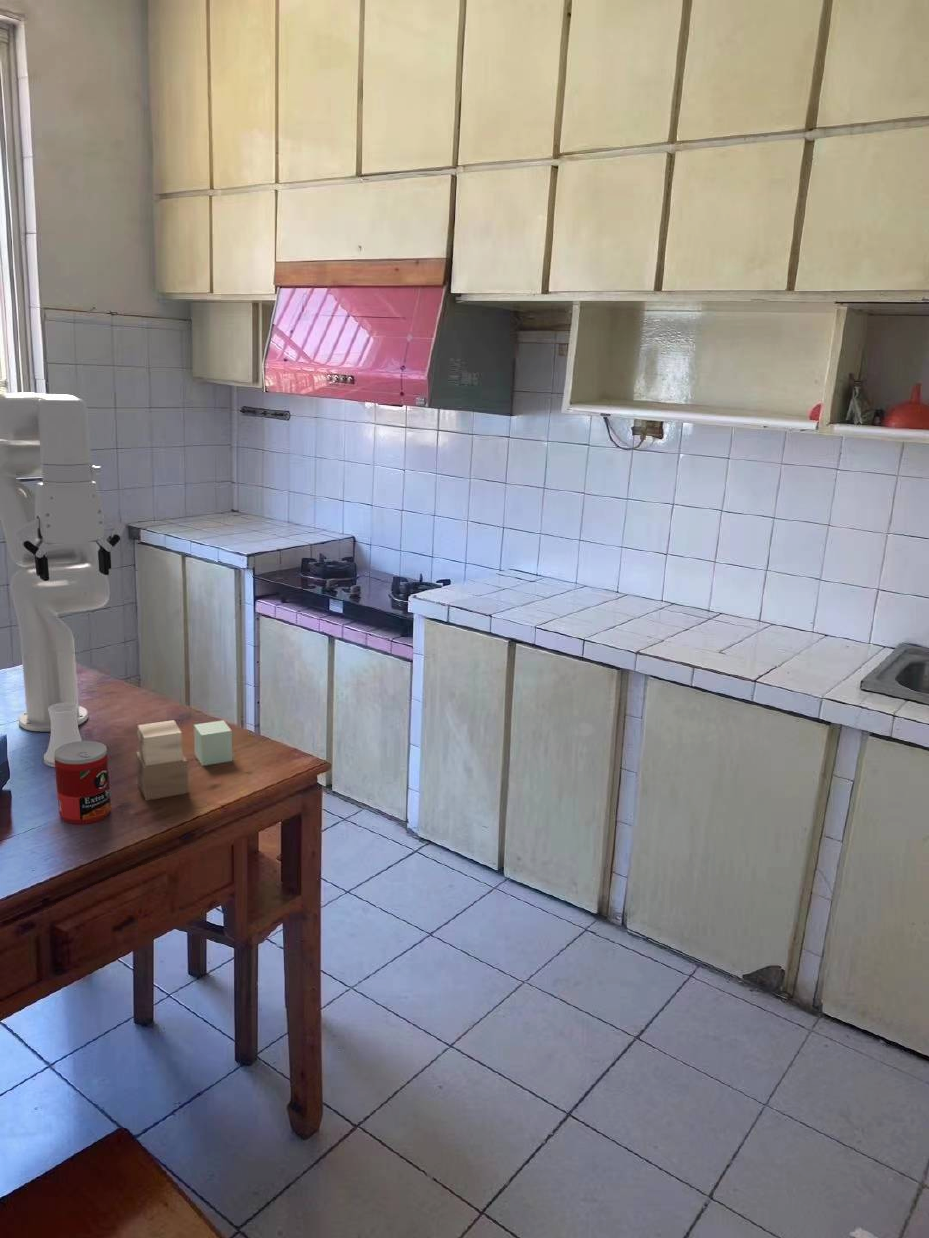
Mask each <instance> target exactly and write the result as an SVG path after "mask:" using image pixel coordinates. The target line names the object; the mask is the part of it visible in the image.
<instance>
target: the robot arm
mask: <svg viewBox="0 0 929 1238" xmlns="http://www.w3.org/2000/svg"><path fill="white" fill-rule="evenodd" d="M88 414H89V413H88V406H87V404H86V402H85V400H83V399H82V398H79V397H77V396H75V395H72V394H61V393H59V394H57V393H53V394H52V393H38V392H33V391H32V392H31V391H30V392H29V391H28V392H16V393H0V522H1V526H2V531H3V535H4V538H5V542H6V545H7V549H8V552H9V555H10V557H11V559H12V561H13V562H14V563H15V565H17V566H20V567H22V568H21V569H19V570H17V571H16V572H14V574H12V577H11V579H10V582H9V587H10V588H9V589H10V594H11V598H12V603H13V606H14V610H15V614H16V619H17V623H18V630H19V631H18V633H19V640H20V650H21V662H22V672H23V683H24V684H23V685H24V686H23V687H24V693H25V694H24V695H25V697H24V698H25V706H26V711H25V712H23V713H22V714H20V716H19V717H18V725H19V726H20V728H22V729H24V730H27V731H32V732H38V731H39V732H40V733H41V732H42V733H45V732H48V733H49V732H51V721H50V715H49V711H48V708H49V707H50V706H52V705H54V704H58V703H74V704H77V706H78V707H77V724H78V726H80V725H81V724H83V723H84V722H85V721H87V719H88V718H89V713H88V710H87V709H86V708H85V707H83V706H82V705H79V691H78V679H77V678H78V677H77V664H76V652H75V639H74V638H75V637H74V634H73V631H72V629H71V628H70V627H69V625H67V623H65V622H64V621H63V620H61V619H60V618H59V616H58V615H60V614H66V613H72V612H74V613H75V612H82V611H89V610H90V611H91V610H95V609H96V610H97V609H99V608H103V607H104V606H105V605H106V604H107V603H108V601H109V599H110V595H111V593H110V592H111V591H110V582H109V578H108V576H109V575H110V570H111V569H112V555H111V552H112V551H113V549H114V548H115V546H116V545H117V544H118V543H119V542H120V541H121V537H122V535H123V533H124V531H125V528H126V526H125V524H124V523H122V522H120V521H117V520H115V519H112V518H110V517H108V516H106V515H104V509H103V505H102V504H103V503H102V499H101V495H100V492H99V487H98V484H97V482H96V481H93V480H94V477H95V476H96V475H101V474H102V473H101V472H102V471H101V466H95V465H94V464H93V463H92V457H91V445H90V444H91V441H90V428H89V415H88ZM37 477H38V478H42V481H41V482H38V483H37V484H36V491H34V489H32V488H31V487H30V486H28V485H27V484H25V483H23V482H22V481H20V480H19V479H18V478H37ZM106 525H107V526H110V527H111V528H112V533H111V534H110V535H109V536H108V537H107V539H106V538H105V536H106Z"/></svg>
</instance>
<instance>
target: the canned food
mask: <svg viewBox="0 0 929 1238" xmlns="http://www.w3.org/2000/svg"><path fill="white" fill-rule="evenodd" d="M54 759H55V767H54V769H55V771H54V772H55V781H56V791H57V792H56V793H57V803H58V804H57V806H58V814H59V816H60V818H61V819H62V820H63V821H64V822H66V823H69V824H72V825H73V824H75V825H83V824H86V825H87V824H92V823H95V822H99V821H101V820H103V819H104V818H105V817H107V816H108V815H109V813H110V811H111V806H112V805H111V789H110V787H111V786H110V773H109V771H110V770H109V758H108V749H107V746H106V745H105V744H104V743H102V742H100V741H99V742H98V741H92V740H82V741H78V742H72V743H68V744H65V745H63V746H61V747H59V748H58V749H56V751H55V755H54Z"/></svg>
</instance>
